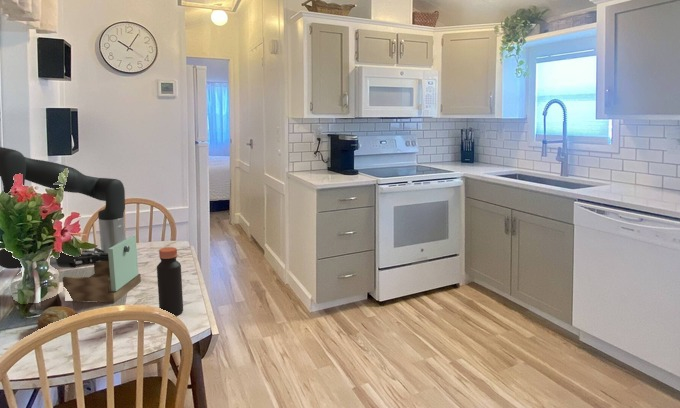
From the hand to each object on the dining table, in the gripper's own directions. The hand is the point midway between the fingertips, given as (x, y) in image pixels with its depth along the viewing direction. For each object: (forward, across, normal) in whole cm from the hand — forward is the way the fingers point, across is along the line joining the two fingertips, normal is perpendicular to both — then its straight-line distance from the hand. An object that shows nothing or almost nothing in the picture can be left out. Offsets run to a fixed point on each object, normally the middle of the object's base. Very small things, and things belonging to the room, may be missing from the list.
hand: (113, 257), depth 156 cm
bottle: (+25, -16, +12) cm, 32 cm away
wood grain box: (-4, 0, +12) cm, 13 cm away
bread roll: (-3, -27, +12) cm, 30 cm away
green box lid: (+4, 0, +9) cm, 10 cm away
